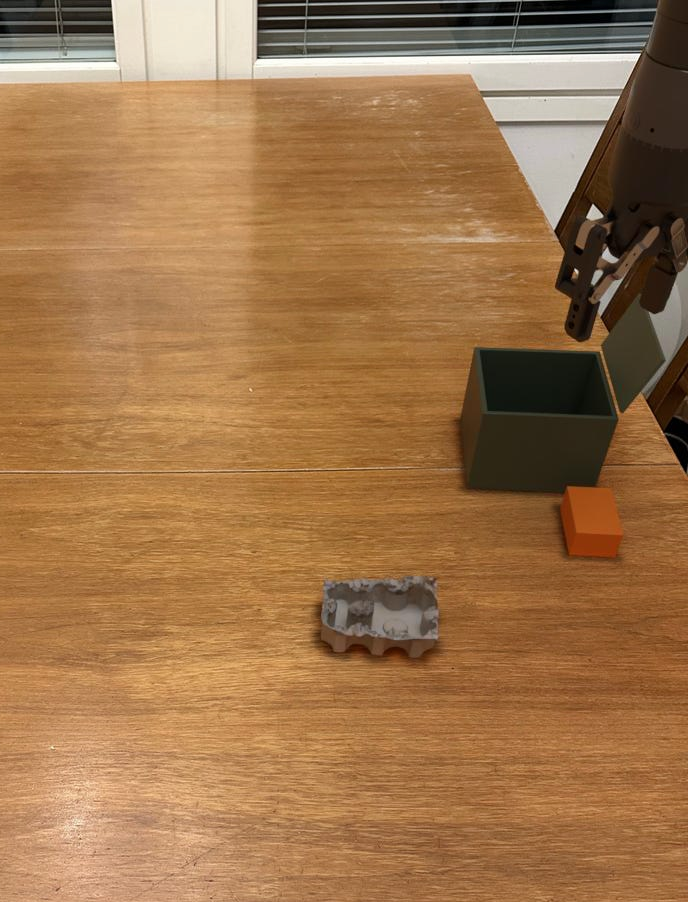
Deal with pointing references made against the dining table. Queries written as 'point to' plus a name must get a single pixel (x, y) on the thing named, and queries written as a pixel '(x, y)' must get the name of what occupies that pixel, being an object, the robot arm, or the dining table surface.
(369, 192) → the dining table surface
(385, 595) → the egg carton
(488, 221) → the dining table surface
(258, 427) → the dining table surface
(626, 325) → the flap
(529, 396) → the dark green box
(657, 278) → the robot arm
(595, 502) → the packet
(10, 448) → the dining table surface
